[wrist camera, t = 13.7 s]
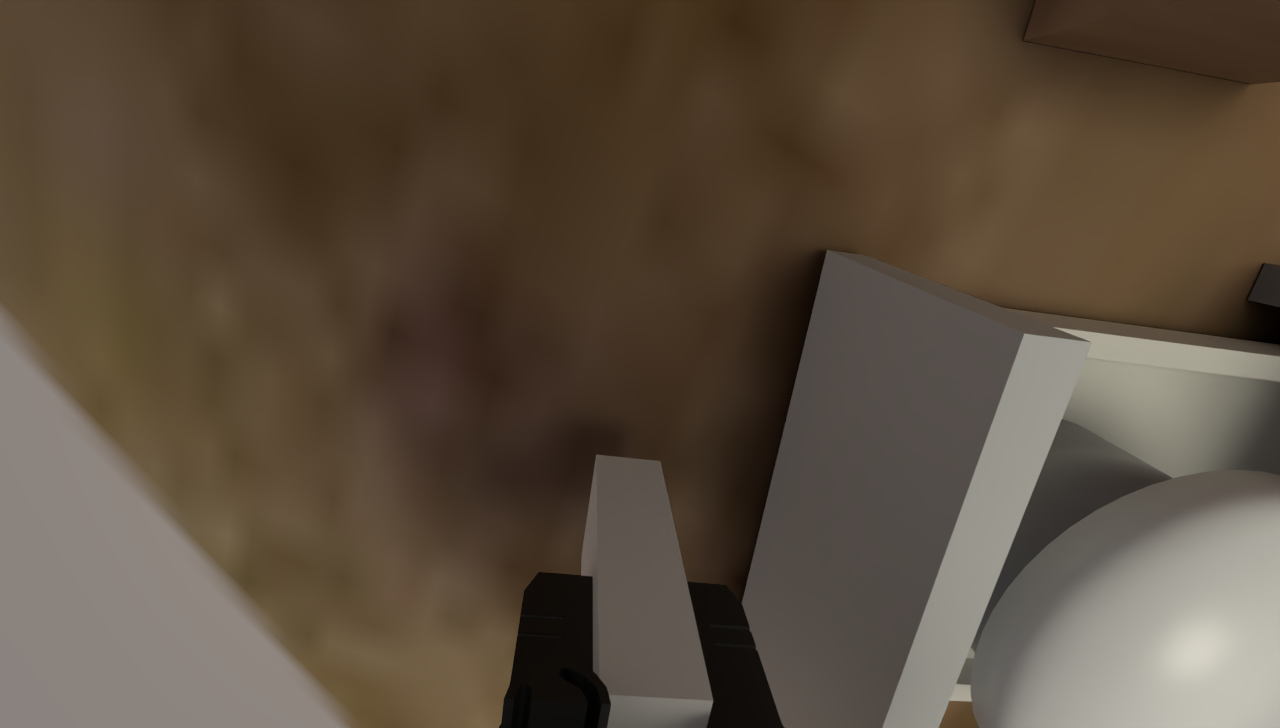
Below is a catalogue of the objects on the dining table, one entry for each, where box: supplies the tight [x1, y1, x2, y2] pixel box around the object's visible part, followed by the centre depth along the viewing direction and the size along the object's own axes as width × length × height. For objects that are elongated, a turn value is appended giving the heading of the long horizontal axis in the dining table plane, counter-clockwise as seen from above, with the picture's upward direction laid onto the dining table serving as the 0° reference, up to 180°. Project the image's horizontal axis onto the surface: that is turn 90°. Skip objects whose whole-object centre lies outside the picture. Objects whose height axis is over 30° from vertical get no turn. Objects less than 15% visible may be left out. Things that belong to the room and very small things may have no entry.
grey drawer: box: [742, 250, 1280, 728], centre depth 14 cm, size 13×16×7 cm
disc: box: [970, 470, 1280, 728], centre depth 11 cm, size 8×8×2 cm
